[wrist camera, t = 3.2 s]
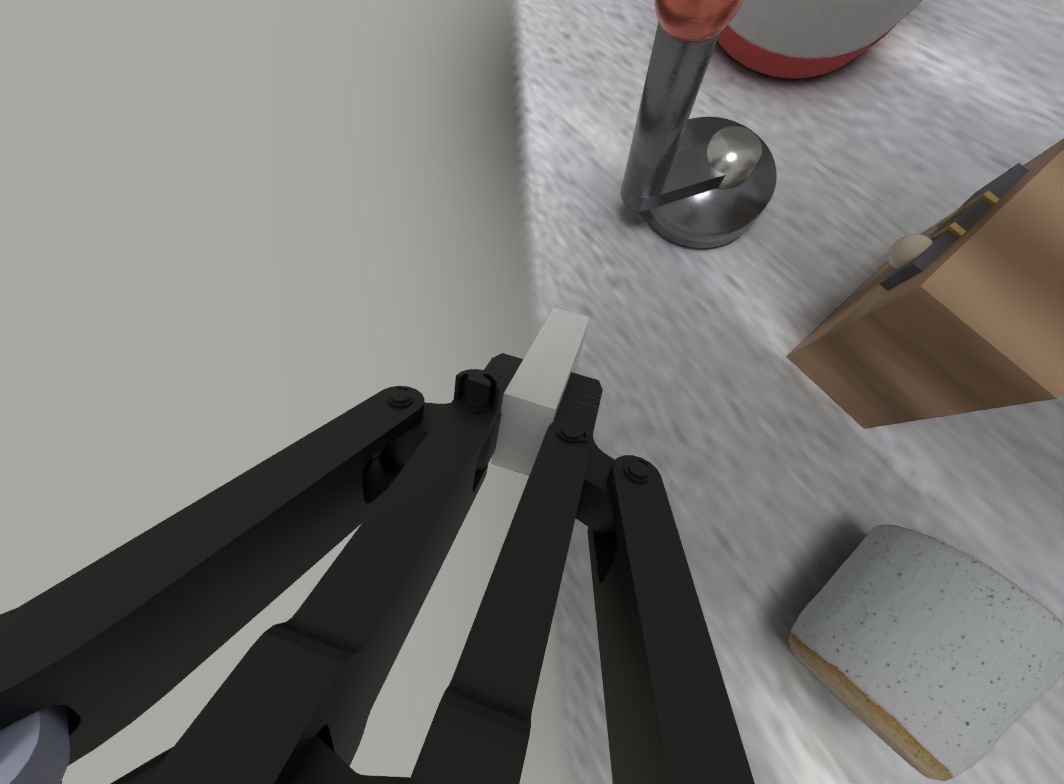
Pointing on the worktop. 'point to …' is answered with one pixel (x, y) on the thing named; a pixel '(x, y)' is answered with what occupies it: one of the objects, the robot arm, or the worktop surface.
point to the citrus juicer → (808, 33)
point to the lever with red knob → (693, 139)
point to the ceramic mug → (929, 648)
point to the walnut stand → (956, 310)
